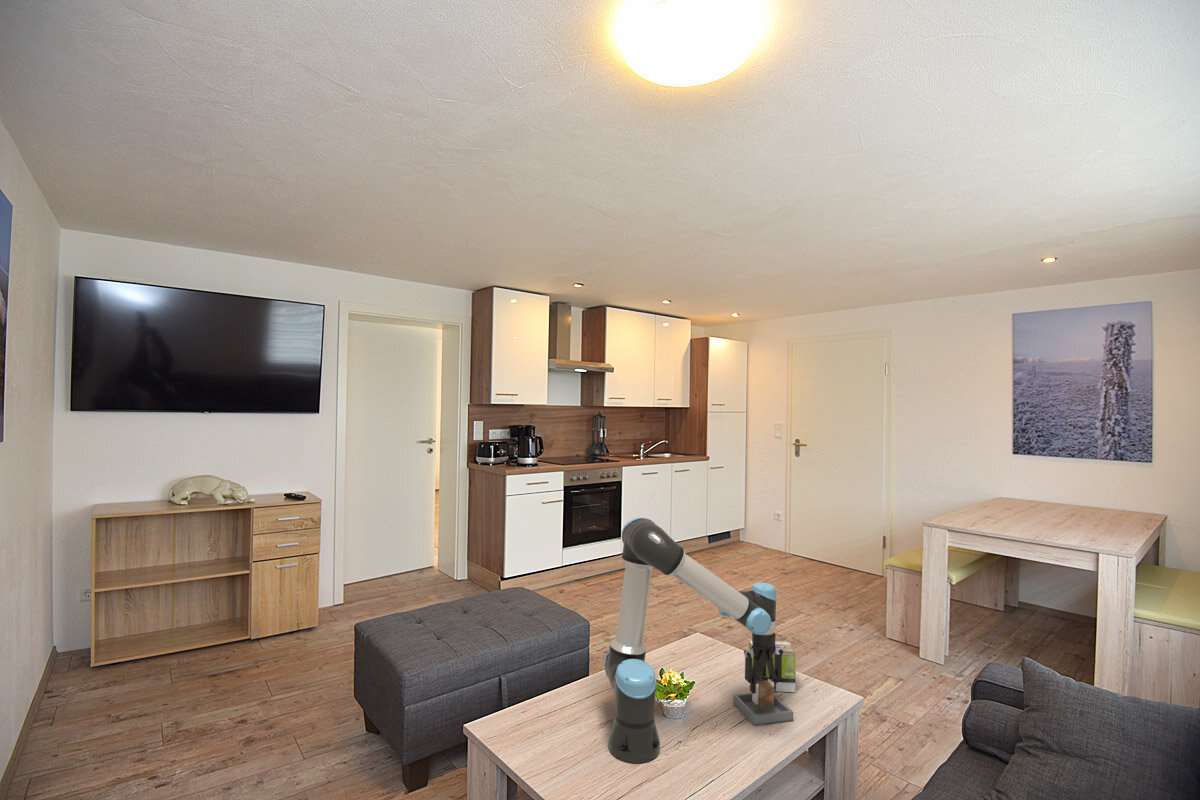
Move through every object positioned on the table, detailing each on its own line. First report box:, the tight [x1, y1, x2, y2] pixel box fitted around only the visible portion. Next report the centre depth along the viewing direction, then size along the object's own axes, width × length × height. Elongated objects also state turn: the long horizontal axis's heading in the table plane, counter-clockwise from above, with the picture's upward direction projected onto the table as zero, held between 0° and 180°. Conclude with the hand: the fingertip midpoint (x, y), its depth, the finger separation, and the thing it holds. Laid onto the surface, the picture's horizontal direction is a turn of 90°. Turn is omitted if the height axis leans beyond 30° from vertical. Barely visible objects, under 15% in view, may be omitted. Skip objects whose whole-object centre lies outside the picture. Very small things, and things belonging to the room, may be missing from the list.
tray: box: [732, 692, 794, 727], centre depth 186 cm, size 14×14×3 cm
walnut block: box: [757, 680, 775, 707], centre depth 186 cm, size 5×5×6 cm
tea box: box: [748, 639, 797, 693], centre depth 205 cm, size 15×10×15 cm
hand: (762, 701), depth 186 cm, fingers closed on walnut block, 5 cm apart
